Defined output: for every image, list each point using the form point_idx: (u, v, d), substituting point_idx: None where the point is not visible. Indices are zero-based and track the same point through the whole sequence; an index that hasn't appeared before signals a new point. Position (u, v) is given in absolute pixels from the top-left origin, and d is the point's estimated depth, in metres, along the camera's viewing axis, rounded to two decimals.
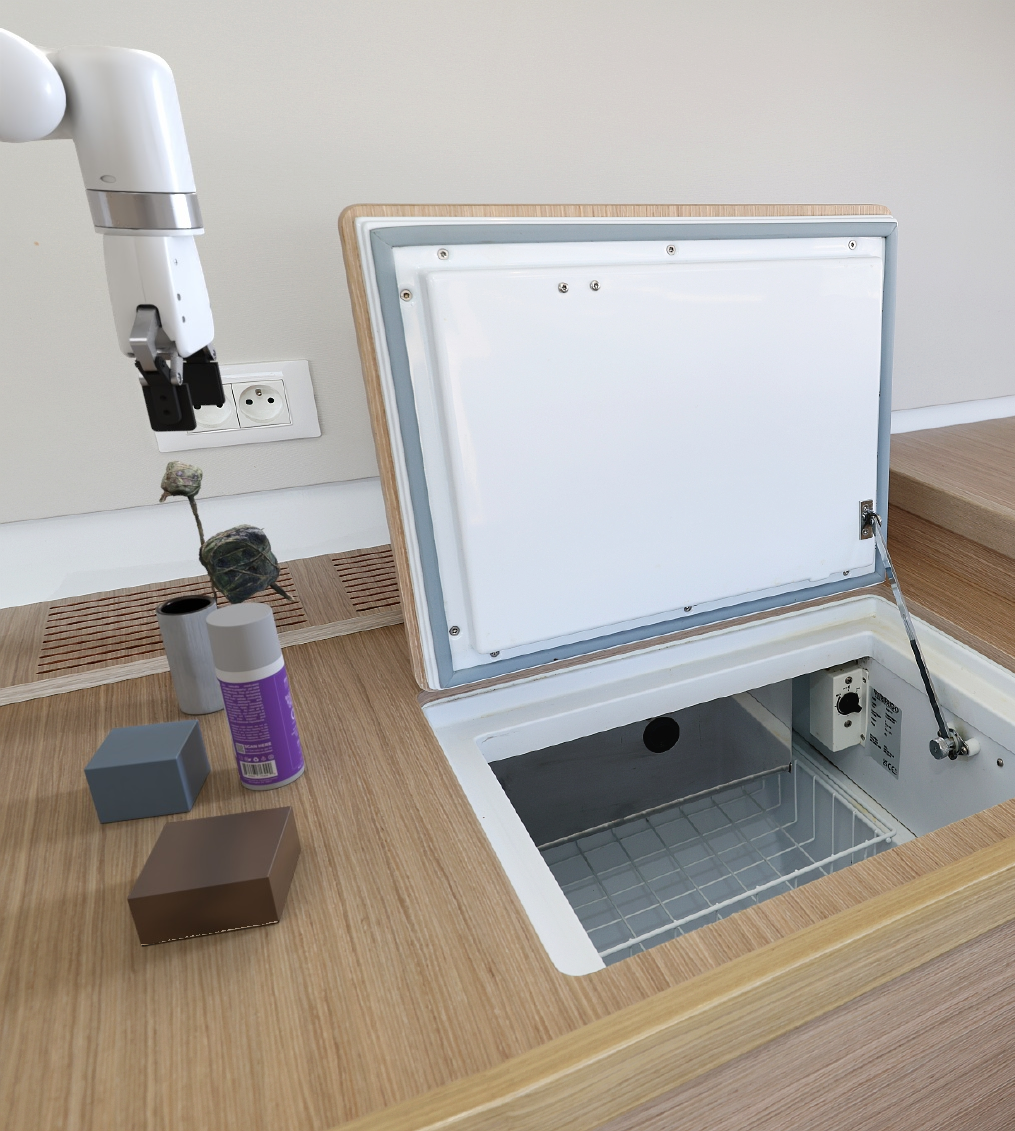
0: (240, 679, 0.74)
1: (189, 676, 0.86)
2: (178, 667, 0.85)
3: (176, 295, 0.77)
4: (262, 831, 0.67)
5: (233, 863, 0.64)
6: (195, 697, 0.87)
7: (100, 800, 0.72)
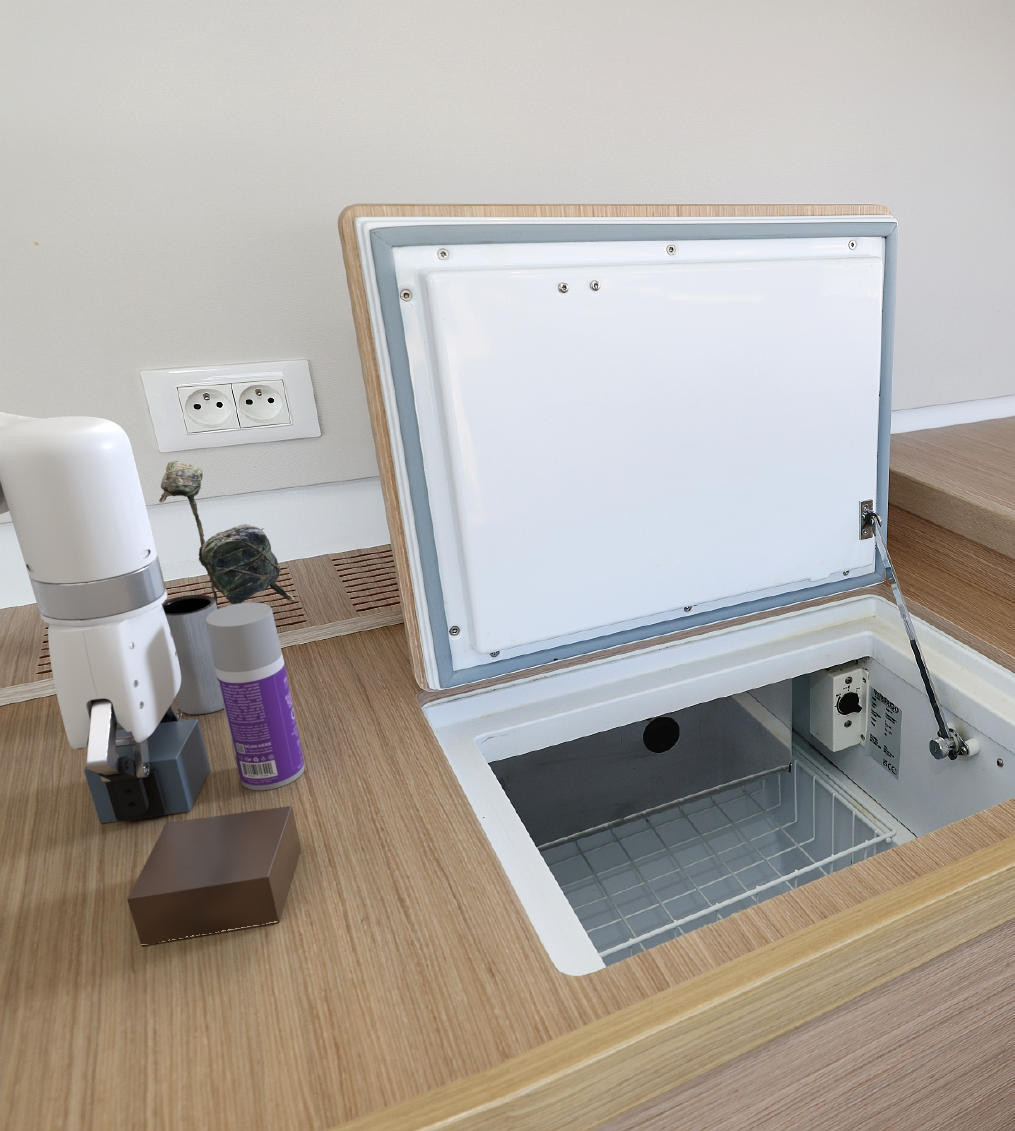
0: (240, 679, 0.74)
1: (189, 676, 0.86)
2: None
3: (132, 683, 0.68)
4: (262, 831, 0.67)
5: (233, 863, 0.64)
6: (195, 697, 0.87)
7: (100, 800, 0.72)
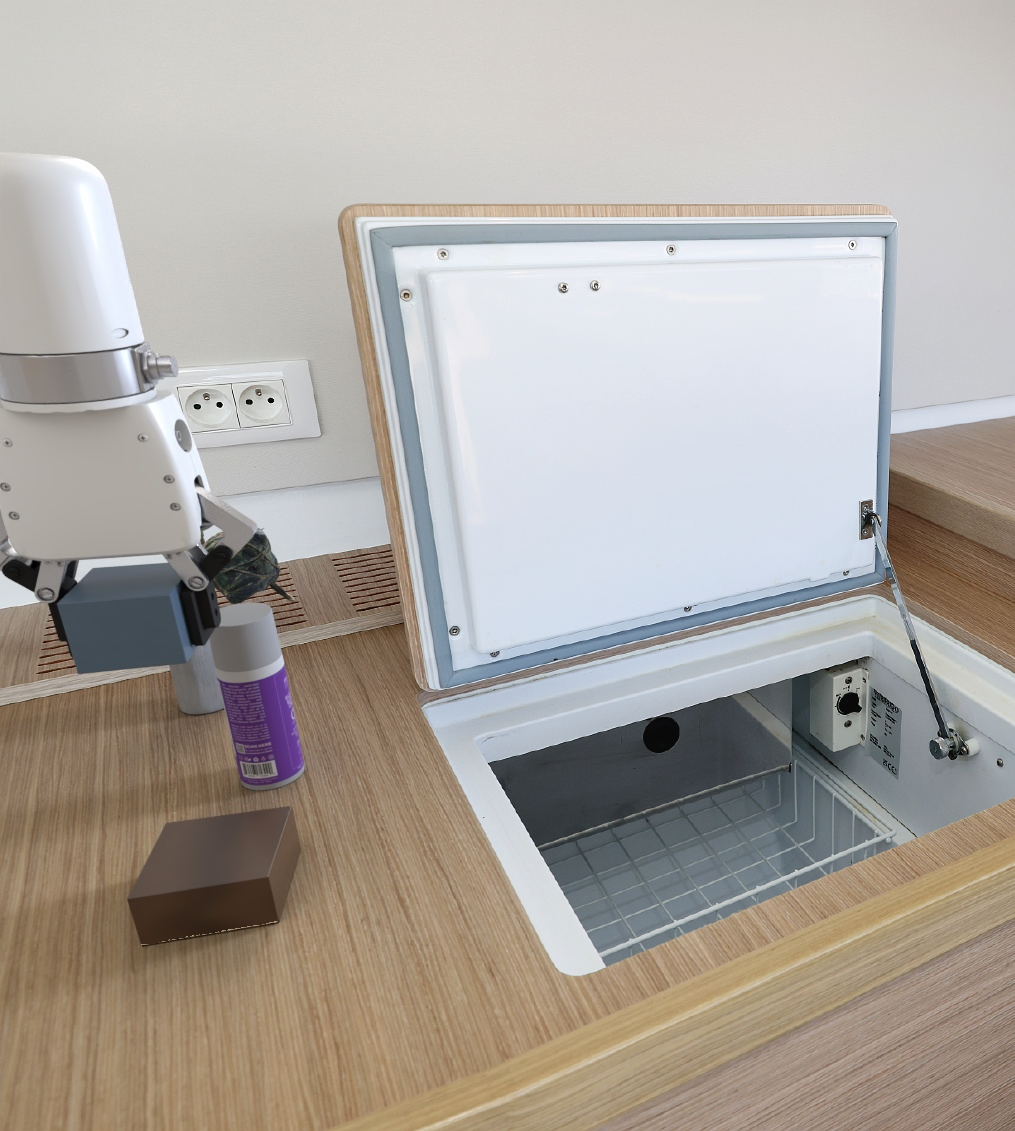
0: (240, 679, 0.74)
1: (189, 676, 0.86)
2: (178, 667, 0.85)
3: (0, 484, 0.56)
4: (262, 831, 0.67)
5: (233, 863, 0.64)
6: (195, 697, 0.87)
7: None
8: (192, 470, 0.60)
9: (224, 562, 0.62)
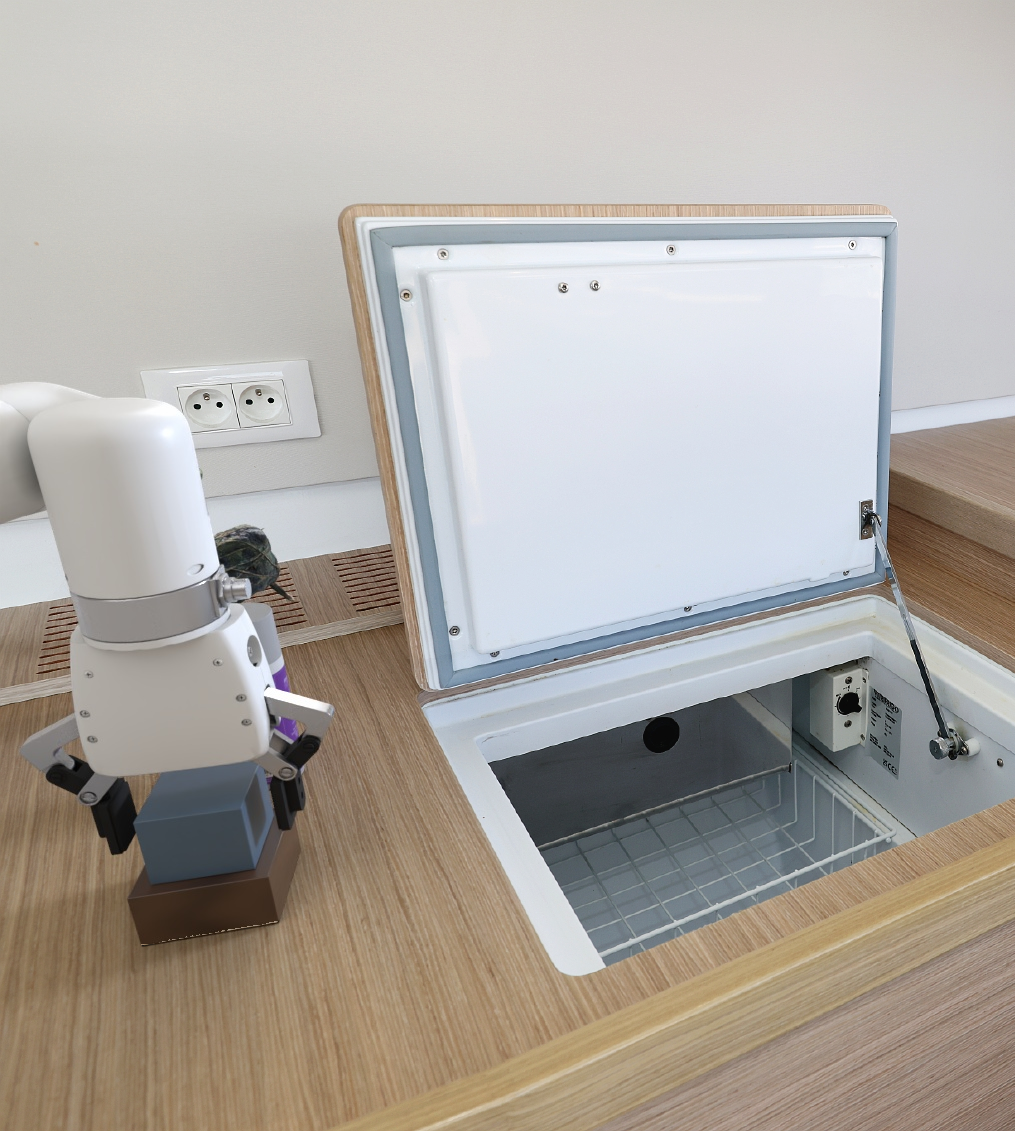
0: None
1: None
2: None
3: (80, 711, 0.57)
4: None
5: None
6: None
7: None
8: (262, 683, 0.61)
9: (313, 751, 0.64)
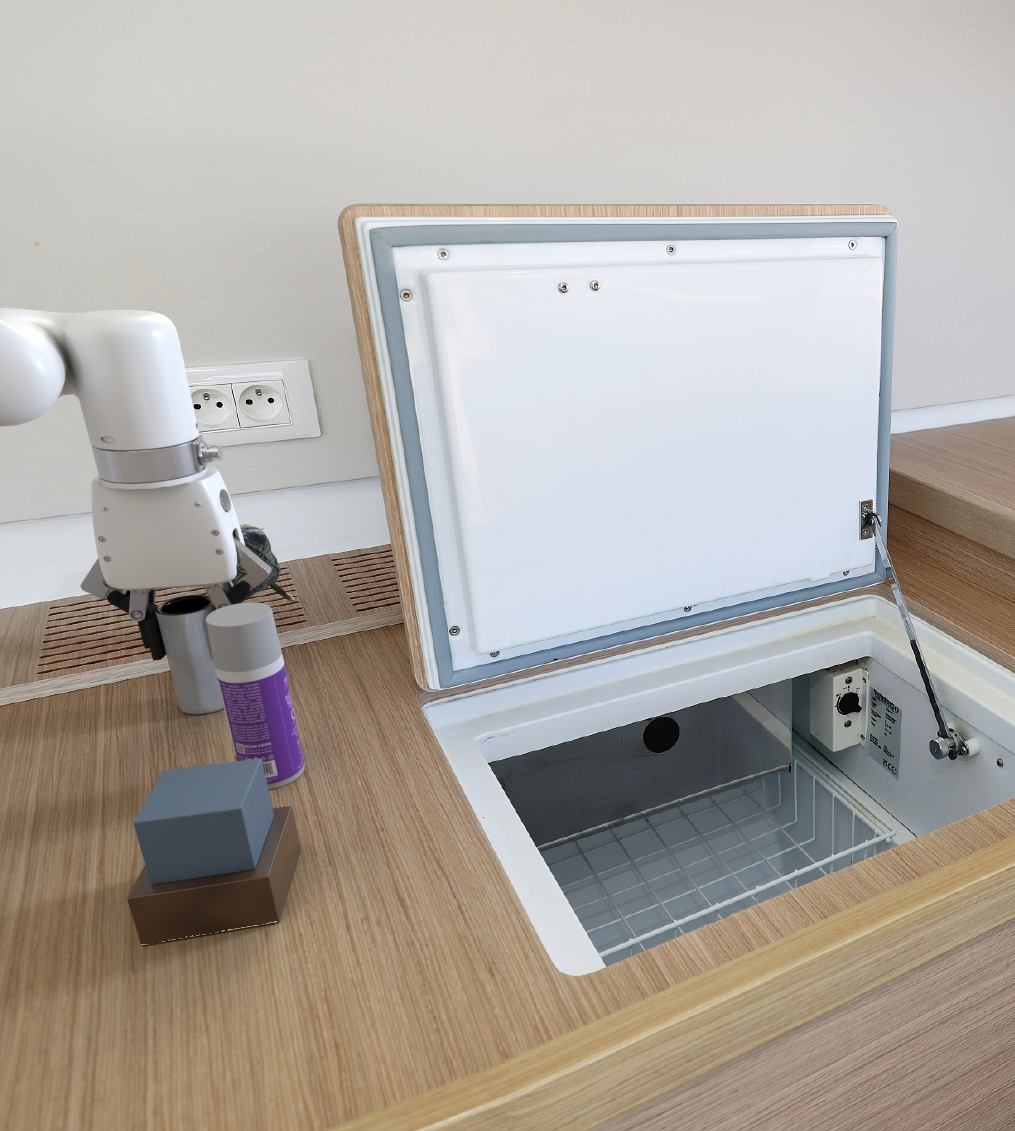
0: (240, 679, 0.74)
1: (189, 676, 0.86)
2: (178, 667, 0.85)
3: (99, 537, 0.79)
4: None
5: None
6: (194, 697, 0.87)
7: None
8: (231, 525, 0.84)
9: (244, 593, 0.86)
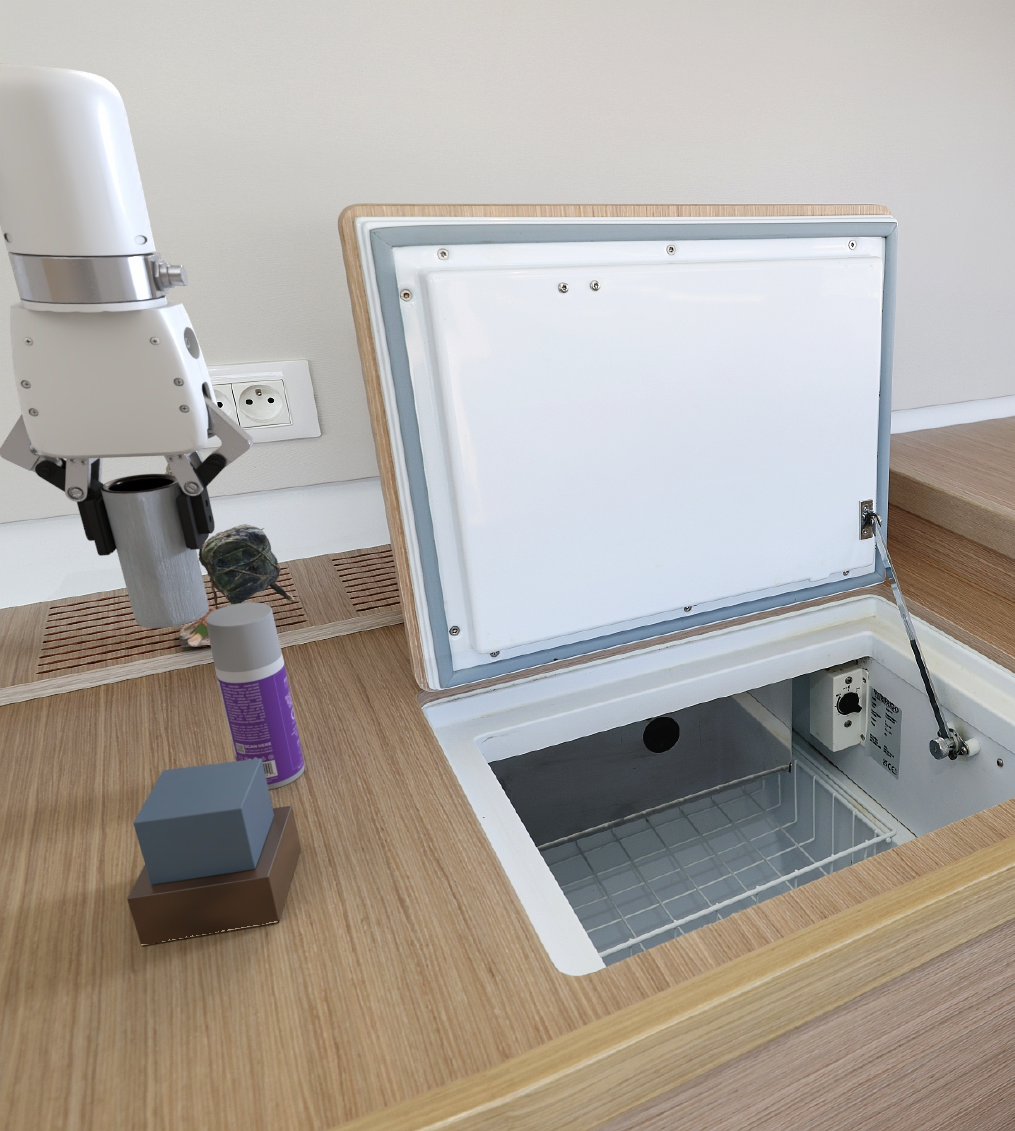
0: (240, 679, 0.74)
1: (147, 576, 0.66)
2: (132, 564, 0.66)
3: (21, 381, 0.60)
4: None
5: None
6: (154, 605, 0.67)
7: None
8: (200, 376, 0.64)
9: (218, 469, 0.66)
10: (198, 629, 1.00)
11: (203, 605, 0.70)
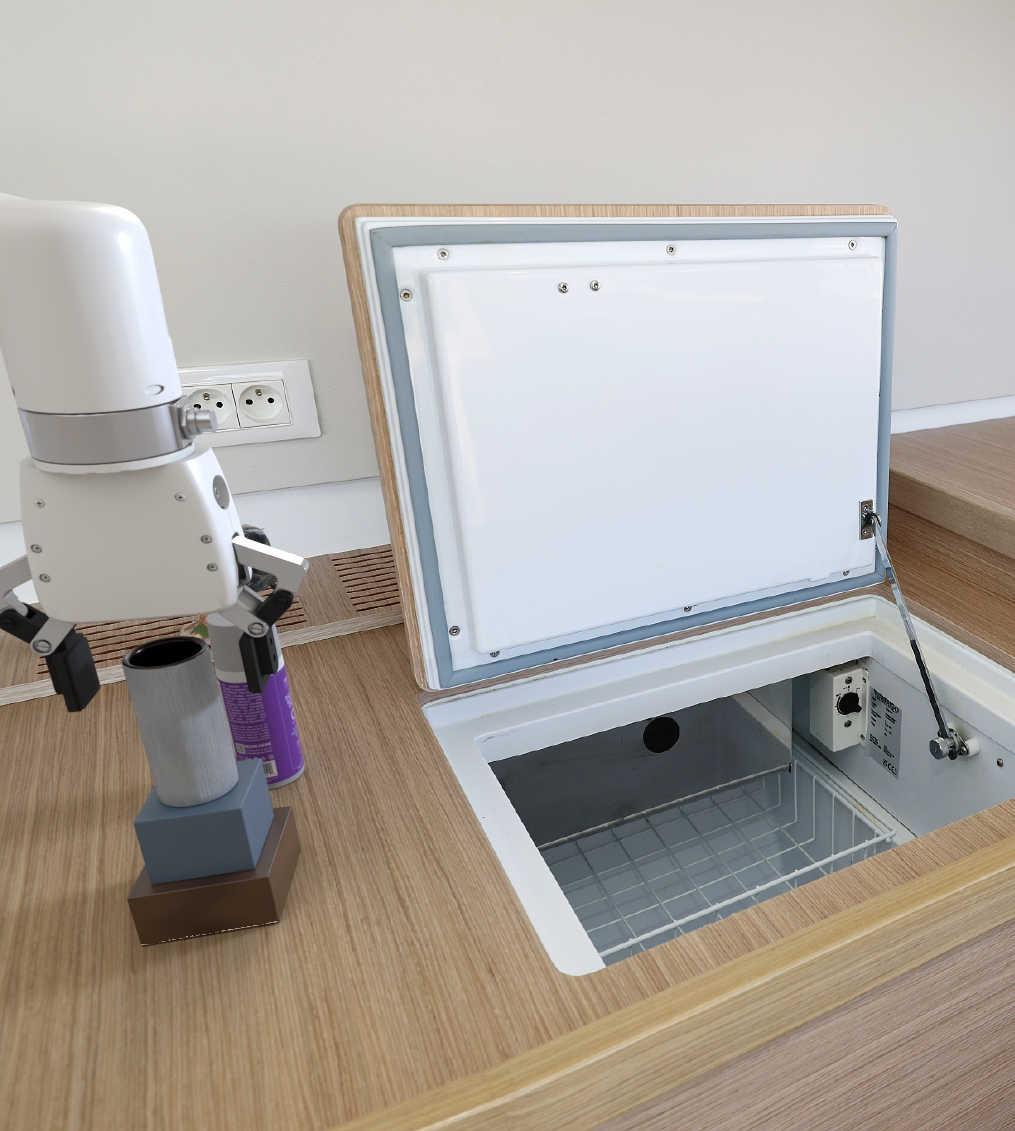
0: (240, 679, 0.74)
1: (171, 754, 0.60)
2: (155, 742, 0.59)
3: (31, 545, 0.53)
4: None
5: None
6: (179, 784, 0.60)
7: None
8: (229, 528, 0.57)
9: (285, 607, 0.60)
10: (198, 629, 1.00)
11: (232, 777, 0.63)
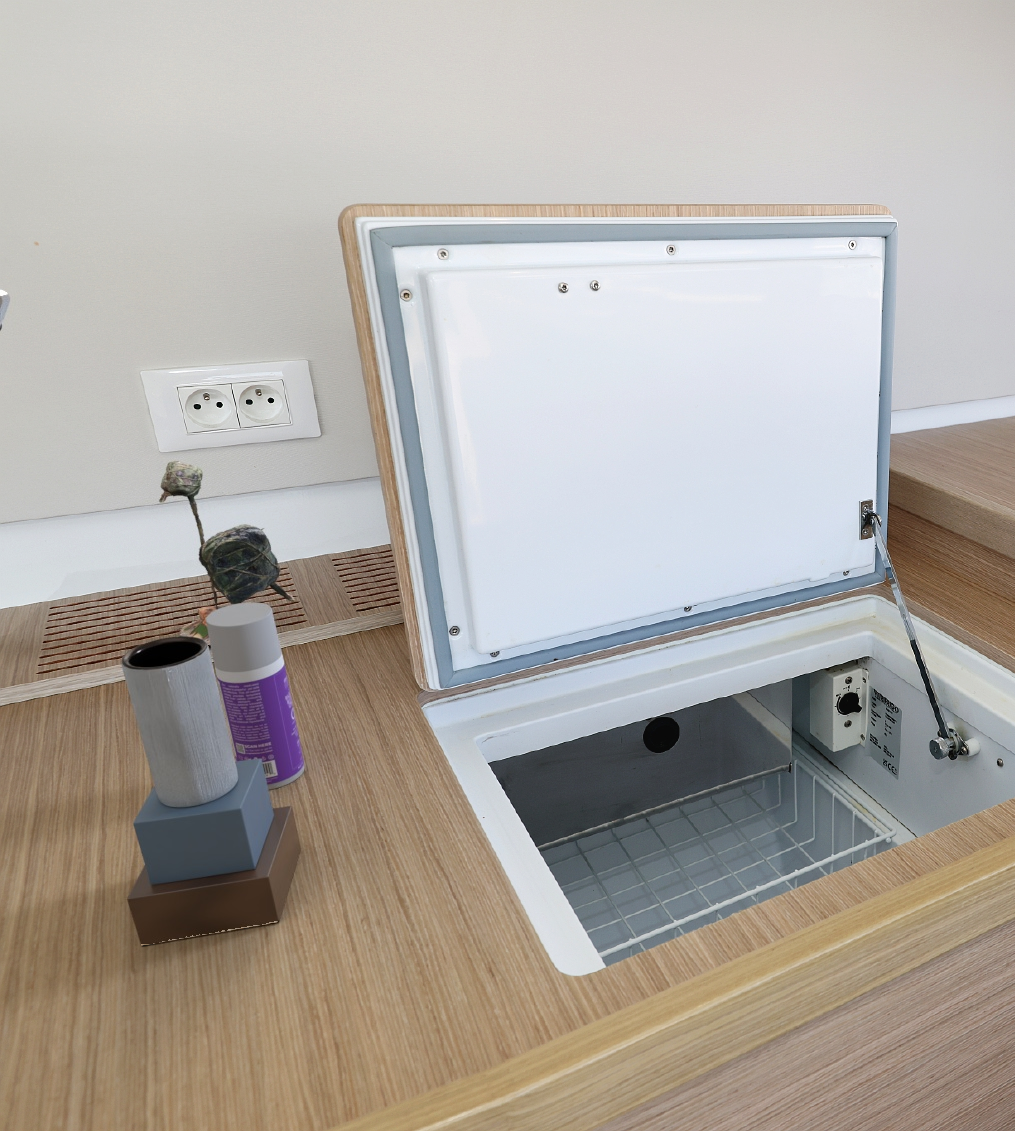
0: (240, 679, 0.74)
1: (170, 755, 0.60)
2: (154, 742, 0.59)
3: None
4: None
5: None
6: (179, 784, 0.60)
7: None
8: None
9: None
10: (198, 629, 1.00)
11: (232, 777, 0.63)
